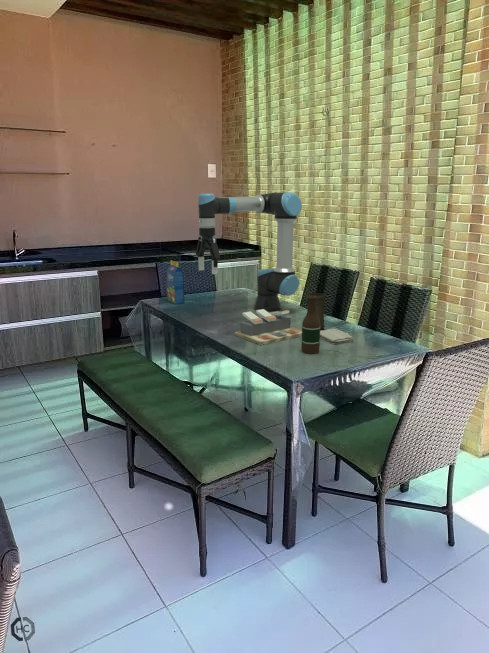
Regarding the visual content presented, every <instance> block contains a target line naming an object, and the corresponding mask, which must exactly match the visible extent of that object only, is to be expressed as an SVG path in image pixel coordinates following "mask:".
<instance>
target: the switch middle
mask: <svg viewBox="0 0 489 653" xmlns="http://www.w3.org/2000/svg"><path fill="white" fill-rule="evenodd" d="M255 313H256V314H257V315H259V316H260V318H264V319H265V320H267V321H268V322H270V321H275V320H276V317H275V316H276V315H271V314H270V313H271V312H267V311H266V310H264V309H261V310H255Z"/></svg>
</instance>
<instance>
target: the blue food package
mask: <svg viewBox="0 0 489 653" xmlns="http://www.w3.org/2000/svg"><path fill="white" fill-rule="evenodd" d="M184 276H185V275H184V272H183V270H182V269H181V268H180V267H179V262H178V261H174V260H172V259H171V260H170V264H169V266H168V268H167V269H166V291H167V293H166V294H167V296H166V297H167V302H170V303H171V304H173V305H181V304H185V285H184V284H185V280H184V278H185V277H184Z"/></svg>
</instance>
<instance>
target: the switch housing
mask: <svg viewBox="0 0 489 653" xmlns="http://www.w3.org/2000/svg"><path fill="white" fill-rule="evenodd" d="M274 316H275V317H276V320H275V321H270V322H268V321H267V320H265V319H264V318H263V317H260V318H261V319H262V320H263V322H262V323H259V324H254V323H252V322H251V321H250V320H245V321H240V323H239V324H240V331H241V333H243V334H246V335H249V336H254V335H259V334H264V333H269V332H273V331H278V330H283V329H288V328H290V326H291V324H292V323H291V317H289V316H285V315H284V314H282V316H278V317H277V315H274Z"/></svg>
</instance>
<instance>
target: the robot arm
mask: <svg viewBox="0 0 489 653" xmlns="http://www.w3.org/2000/svg"><path fill="white" fill-rule="evenodd" d="M197 200H198V202H197V204H198V206H197V207H198V227H199V228H198V235H199V236H198V237H197V238H198V240H197V246H196V251H195V255H196V256H197V257H198V260H197V261H198V271H205V255H204V254H205V252H206V250H208V251H209V254H210V256H211V258H212V259H211V274H212V275H218V274H219V273H218V272H219V271H218V270H219V269H218V266H219V265H218V260H220V259H221V255H220V252H219V251H220V250H219V247H218V244H217V243H218V242H217V241H218V240H217V238H213V237H214V236H216V217H215V216H216V215H222V214H223V215H225V214H227V215H230V214H233V213H238V212H239V213H241V212H256V213H258V214H268V215H272V216H273V215H274V220H275V221H276V222H277V223H276V225H277V227H276V229H277V232H276V267H275V268H266V269H265V268H264V269H259V270H258V271H257V278H256V279H257V281H256V282H257V296H256V299H255V302H254V305H253V306H254V309H253V310H255V311H256V310H261V309H264V310H266V311H267V312H268V313H271V312H277V311H281V309H282V308H281V307H282V306H281V302H280V299H279V295H281V296H286V297H290V296H293V295H294V294H295V293H296V292H297V291H298V289H299V286H300V280H299V277H298V276H297V275H296V270H295V268H293V261H294V260H293V258H294V257H293V255H294V254H293V253H294V230H295V229H294V226H295V225H294V222H295V221H296V220H297V219H298V215H299V214H300V212H301V211H302V206H303V204H302V200H301V198H300V196H299V195H298V194H297V193H295V192H288V191H287V192H284V191H283V192H270V193H263V194H256V195H254V196H221V197H220V196H219V197H216V196H215V194H214V193H200V194H198V199H197Z"/></svg>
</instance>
